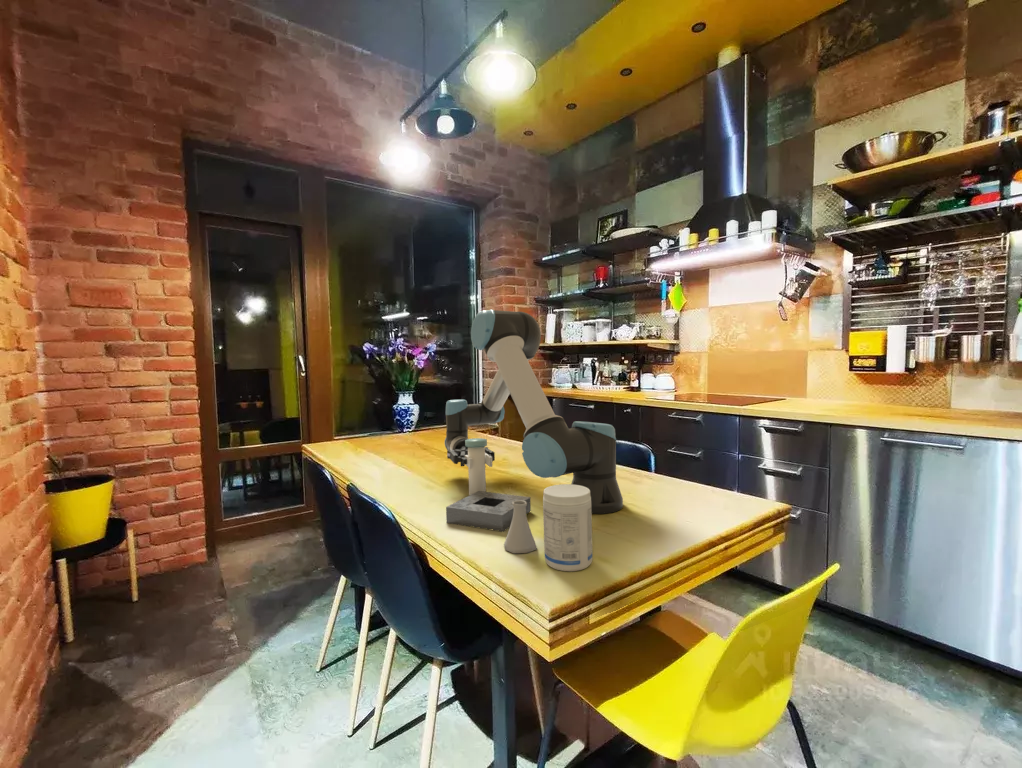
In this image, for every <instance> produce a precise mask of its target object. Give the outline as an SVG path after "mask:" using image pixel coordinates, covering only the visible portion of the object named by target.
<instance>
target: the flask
mask: <svg viewBox="0 0 1022 768" xmlns="http://www.w3.org/2000/svg"><path fill="white" fill-rule="evenodd" d="M512 504H513V506H514V512H513V519H512V522H511V525H510V527H509V528H508V532H507V535H506V536H505V537H506V538H505V541H504V544H503V547H504V550H505V551H507V552H510V553H512V554H528V553H531V552H533V551H535V550H537V549H538V547H537V544H536V541H535V539H534V536H533V534H532V530H531V527H530V523H529V521H528V517H527V515H526V506H527V502H526V501H523V500H518V501H513V502H512Z"/></svg>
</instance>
